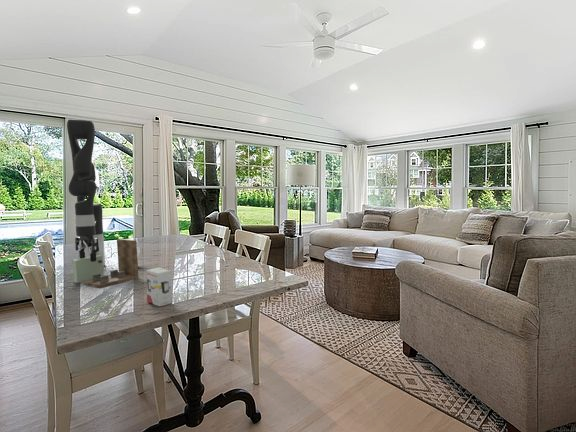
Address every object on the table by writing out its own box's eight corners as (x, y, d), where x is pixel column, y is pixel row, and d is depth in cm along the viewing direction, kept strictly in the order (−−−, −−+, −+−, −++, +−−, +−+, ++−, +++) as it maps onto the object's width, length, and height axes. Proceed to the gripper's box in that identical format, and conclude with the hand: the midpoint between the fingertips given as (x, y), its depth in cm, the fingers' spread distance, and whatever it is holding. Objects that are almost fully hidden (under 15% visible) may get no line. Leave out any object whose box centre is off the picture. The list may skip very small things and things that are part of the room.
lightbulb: (135, 267, 175) (134, 246, 174) (125, 267, 176) (123, 246, 175) (143, 264, 181) (142, 244, 180) (132, 264, 182) (131, 244, 181)
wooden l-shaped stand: (83, 284, 146) (80, 244, 144) (122, 274, 162) (119, 238, 160) (100, 288, 140) (97, 246, 138) (138, 277, 156) (136, 240, 154)
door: (74, 282, 149) (72, 260, 149) (100, 275, 160) (99, 254, 159) (78, 283, 148) (76, 260, 147) (105, 276, 158) (103, 255, 157)
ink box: (146, 302, 122) (144, 269, 121) (159, 298, 126) (158, 267, 125) (159, 307, 116) (157, 273, 115) (172, 303, 120) (171, 270, 119)
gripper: (103, 224, 152) (105, 260, 153) (84, 223, 159) (87, 258, 160) (86, 226, 145) (88, 263, 146) (67, 225, 152) (70, 261, 153)
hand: (87, 260), depth 153 cm, fingers open, 8 cm apart
